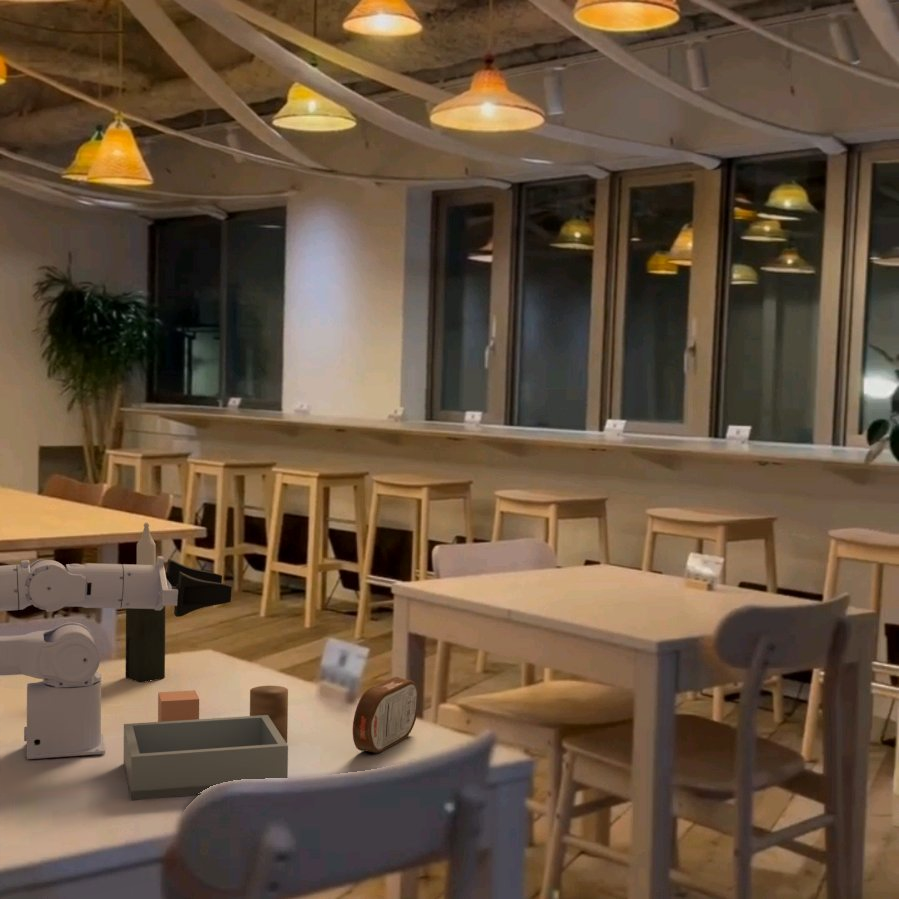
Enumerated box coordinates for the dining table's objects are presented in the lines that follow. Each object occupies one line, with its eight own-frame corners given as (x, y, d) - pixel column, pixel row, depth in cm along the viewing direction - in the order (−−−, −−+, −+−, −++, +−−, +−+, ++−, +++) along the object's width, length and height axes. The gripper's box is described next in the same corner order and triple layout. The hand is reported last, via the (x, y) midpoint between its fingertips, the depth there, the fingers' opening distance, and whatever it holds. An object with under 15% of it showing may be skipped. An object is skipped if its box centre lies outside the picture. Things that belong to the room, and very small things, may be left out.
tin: (401, 729, 173) (402, 669, 173) (421, 732, 172) (423, 672, 172) (349, 758, 160) (350, 693, 159) (371, 762, 158) (372, 696, 158)
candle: (167, 677, 200) (169, 522, 199) (140, 683, 196) (141, 525, 195) (149, 672, 203) (151, 520, 202) (122, 677, 200) (123, 522, 198)
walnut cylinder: (252, 748, 163) (253, 695, 162) (246, 738, 168) (247, 686, 167) (290, 746, 164) (291, 693, 164) (283, 735, 169) (284, 684, 169)
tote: (130, 800, 142) (131, 756, 142) (123, 763, 155) (123, 724, 155) (287, 787, 148) (288, 745, 147) (267, 753, 161) (267, 714, 161)
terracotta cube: (161, 738, 167) (161, 701, 167) (157, 728, 172) (158, 692, 171) (198, 735, 168) (199, 699, 168) (194, 725, 173) (195, 690, 173)
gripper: (128, 565, 155) (237, 568, 159) (118, 546, 168) (219, 549, 173) (124, 621, 155) (233, 622, 160) (115, 598, 169) (215, 599, 174)
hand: (226, 588), depth 167 cm, fingers open, 7 cm apart
